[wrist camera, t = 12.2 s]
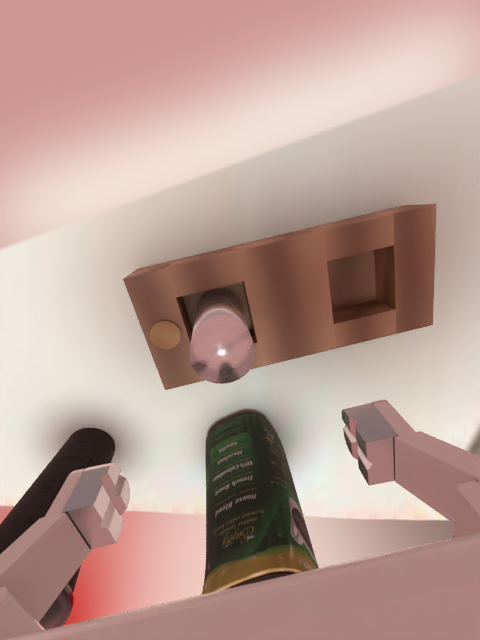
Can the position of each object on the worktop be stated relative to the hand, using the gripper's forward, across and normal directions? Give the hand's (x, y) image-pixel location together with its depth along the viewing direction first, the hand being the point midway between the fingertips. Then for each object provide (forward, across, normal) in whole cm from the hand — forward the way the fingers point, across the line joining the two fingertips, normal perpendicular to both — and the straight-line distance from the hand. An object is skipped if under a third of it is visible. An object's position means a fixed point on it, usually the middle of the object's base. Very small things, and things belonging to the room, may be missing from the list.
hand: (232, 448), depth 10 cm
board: (+18, -5, 0) cm, 18 cm away
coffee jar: (+18, +2, +17) cm, 25 cm away
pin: (+16, 0, 0) cm, 17 cm away
